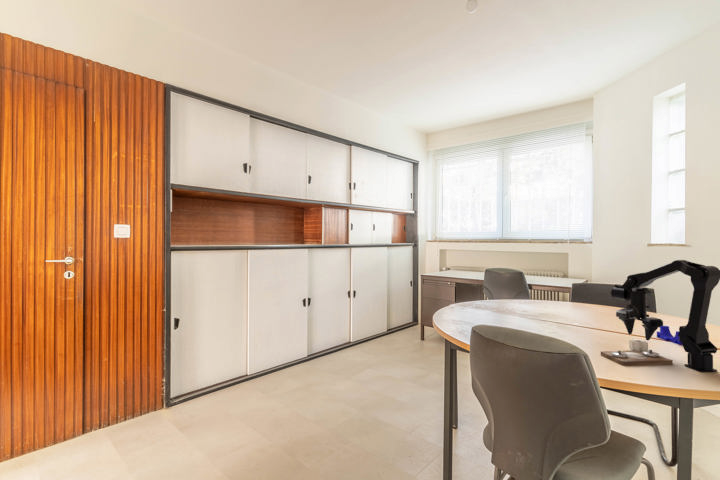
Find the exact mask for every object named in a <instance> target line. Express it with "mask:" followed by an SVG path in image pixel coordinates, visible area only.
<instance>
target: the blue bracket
mask: <svg viewBox="0 0 720 480" xmlns="http://www.w3.org/2000/svg"><path fill="white" fill-rule="evenodd" d="M678 334H679V330H678V331H675V334H674V335H673V334H672V333H671V330H670V326H668V325H663V326H661V327H659V331H656V338H658V339H660V340H663V341H666V342H667V341H668V342H671V343H673V344H675V345H679V346H680V345H681V346H683V345H682V343H681V342H680V341H679V336H677V335H678Z"/></svg>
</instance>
